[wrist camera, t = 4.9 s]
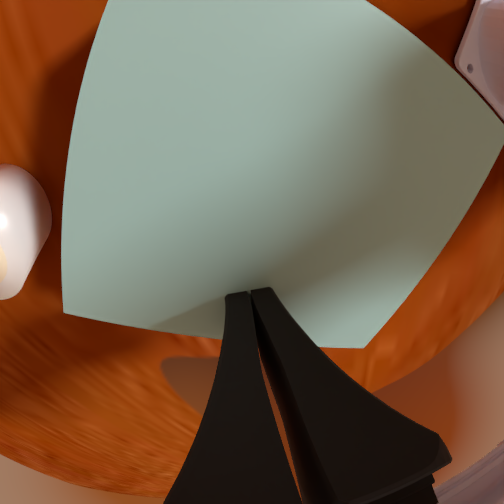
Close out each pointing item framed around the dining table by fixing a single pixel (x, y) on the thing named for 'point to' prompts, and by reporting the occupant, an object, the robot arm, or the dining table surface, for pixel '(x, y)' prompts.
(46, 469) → the dining table surface
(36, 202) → the white cylinder
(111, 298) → the lid
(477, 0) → the robot arm
